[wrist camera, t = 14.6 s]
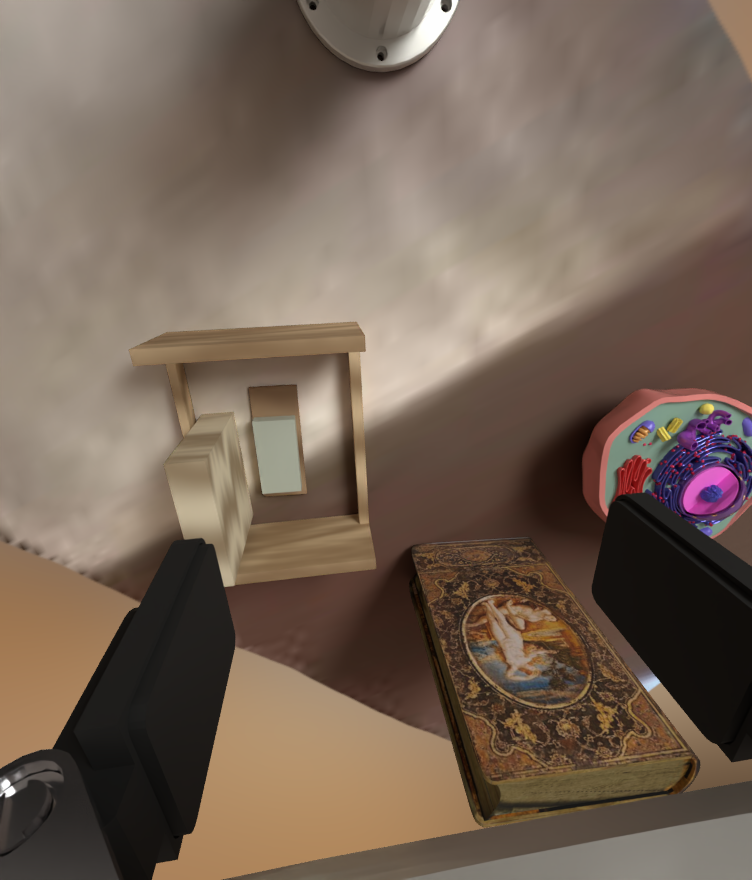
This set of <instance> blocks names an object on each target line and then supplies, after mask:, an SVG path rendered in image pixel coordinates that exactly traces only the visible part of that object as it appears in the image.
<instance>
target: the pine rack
mask: <svg viewBox="0 0 752 880" xmlns="http://www.w3.org/2000/svg"><path fill="white" fill-rule="evenodd" d="M365 351H366V349H365V335H364V333H363V332H362V330H361V328H360V327H359V325H358V323H357V322H345V323H327V324H309V325H291V326H273V327H255V328H237V329H219V330H201V331H183V332H166V333H164V334H162V335H160V336H158V337H155V338H153V339H151V340H149V341H147V342H145V343H142V344H140V345H138V346H136V347H134V348H131V349H129V352H130V356H131V359H132V363H133V366H143V365H159V364H166V368H167V373H168V377H169V381H170V385H171V389H172V393H173V397H174V401H175V405H176V410H177V414H178V418H179V422H180V426H181V430H182V434H183V438H184V437H185V436H186V435H187V433H188V432H189V431H190V430H191V428H192V427H193V426H194V424H195V423H196V419H195V414H194V410H193V406H192V401H191V397H190V392H189V388H188V383H187V379H186V375H185V370H184V366H183V363H190V362H206V361H222V360H238V359H254V358H270V357H286V356H302V355H318V354H333V353H348V363H349V378H350V394H351V409H352V424H353V440H354V455H355V471H356V486H357V501H358V514H353V515H344V516H334V517H324V518H314V519H304V520H294V521H284V522H274V523H264V524H255V525H250V529H249V532H248V536H247V540H246V544H245V547H244V551H243V555H242V559H241V562H240V566H239V570H238V574H237V578H236V581H235V585H239V584H248V583H257V582H265V581H274V580H283V579H292V578H300V577H309V576H318V575H326V574H335V573H344V572H353V571H361V570H370V569H376V559H375V553H374V548H373V542H372V537H371V532H370V526H369V515H368V497H367V478H366V459H365V441H364V422H363V403H362V385H361V366H360V352H365Z"/></svg>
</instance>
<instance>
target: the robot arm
mask: <svg viewBox="0 0 752 880" xmlns="http://www.w3.org/2000/svg"><path fill="white" fill-rule="evenodd" d="M459 1H460V0H297V2H298V4H299V7H300V9H301V12H302V14H303V15H304V17H305V19H306V21H307V22H308V24H309V26H310V28H311V30H312V31H313V32H314V33H315V35H316V36H317V37H318V38H319V40H320V41H321V42H322V43H323V45H324V46H325V47H326V48H328V49H329V50H330V51H331V52H332V53H333V54H334V55H336V56H337V57H338V58H339V59H341V60H343V61H345V62H346V63H348V64H350V65H352V66H353V67H357V68H360V69H363V70H366V71H372V72H389V71H394V70H400V69H402V68H404V67H406V66H409V65H411V64H413V63H415V62H416V61H418V60H419V59H420V58H422V57H423V56H424V55H426V54H427V53H428V52H429V51H430V50H431V49H432V48H433V47H434V45H435V44H436V43H437V42H438V41H439V40H440V38H441V37H442V35H443V33H444V32H445V30H446V29H447V27H448V25H449V24H450V22H451V20H452V18H453V16H454V14H455V12H456V9H457V7H458V4H459ZM311 5H315V7H316V10H311V9H309V7H310V6H311ZM442 7H443V8H445V9H446V13H445V12H443V11H442V9H441V8H442ZM378 55H382V56H383V59H384V60H383V61H380V60H378V58H377V56H378ZM592 594H593V597H594V600H595V601H596V603H597V604H598V605H599V607H600V608H601V609H602V610H603V612H604V613H605V614H606V615H607V617H608V618H609V619H610V620H611V622H612V623H613V624H614V625H615V626H616V628H617V629H618V630H619V631H620V633H621V634H622V635H623V636H624V638H625V639H626V640H627V641H628V642H629V644H630V645H631V646H632V647H633V649H634V650H635V651H636V652H637V654H638V655H639V656H640V657H641V659H642V660H643V661H644V662H645V663H646V665H647V666H648V667H649V668H650V670H651V671H652V672H653V673H654V675H655V676H656V677H657V678H658V680H659V681H660V682H661V683H662V684H663V686H664V687H665V688H666V689H667V691H668V692H669V693H670V694H671V696H672V697H673V698H674V699H675V700H676V702H677V703H678V704H679V705H680V707H681V708H682V709H683V710H684V712H685V713H686V714H687V715H688V717H689V718H690V719H691V720H692V721H693V723H694V724H695V725H696V726H697V728H698V729H699V730H700V731H701V733H702V734H703V735H704V736H705V737H706V738H707V739H708V740H709V741H711V742H712V743H715V744H717V745H718V746H719V747H720V749H721V750H722V751H723V752H724V753H725V755H726V756H727V757H728V758H729V759H730V761H731V762H736V761H742V760H748V759H752V567H751V566H750V565H748V564H747V563H746V562H744V561H743V560H741V559H740V558H739V557H737V556H736V555H734V554H733V553H731V552H730V551H729V550H727V549H726V548H724V547H723V546H722V545H720V544H719V543H717V542H716V541H715V540H713V539H712V538H710V537H709V536H707V535H706V534H705V533H703V532H702V531H700V530H699V529H698V528H696V527H695V526H693V525H692V524H690V523H689V522H688V521H686V520H685V519H683V518H682V517H681V516H679V515H678V514H676V513H675V512H673V511H672V510H671V509H669V508H668V507H666V506H665V505H664V504H662V503H661V502H659V501H658V500H656V499H655V498H654V497H652V496H651V495H649V494H647V493H642V492H641V493H632V494H622V495H619V496H618V497H617V498H616V499H615V501H614V502H612V503H611V504H610V507H609V511H608V515H607V520H606V524H605V529H604V533H603V538H602V543H601V547H600V552H599V556H598V561H597V565H596V570H595V574H594V579H593V583H592ZM234 650H235V631H234V626H233V622H232V618H231V614H230V610H229V605H228V601H227V597H226V593H225V589H224V584H223V580H222V576H221V572H220V568H219V564H218V559H217V555H216V551H215V547H214V545H213V544H206V542H205V540H204V539H203V538H195V539H185V540H176V541H174V542H173V543H172V545H171V547H170V549H169V551H168V552H167V554H166V556H165V558H164V560H163V562H162V564H161V566H160V568H159V570H158V571H157V573H156V575H155V577H154V579H153V581H152V583H151V585H150V587H149V588H148V590H147V592H146V594H145V596H144V598H143V600H142V602H141V604H140V606H139V607H138V608H134V609H132V610H131V611H129V612H128V614H127V615H126V617H125V618H124V620H123V622H122V624H121V625H120V627H119V629H118V631H117V632H116V634H115V636H114V638H113V640H112V641H111V644H110V646H109V647H108V649H107V651H106V652H105V655H104V656H103V658H102V660H101V661H100V663H99V665H98V667H97V669H96V671H95V672H94V674H93V676H92V678H91V680H90V681H89V683H88V685H87V687H86V689H85V690H84V692H83V694H82V696H81V698H80V700H79V701H78V703H77V705H76V707H75V709H74V710H73V712H72V714H71V716H70V718H69V720H68V721H67V723H66V725H65V727H64V729H63V730H62V732H61V734H60V736H59V738H58V740H57V741H56V743H55V745H54V747H53V749H48V750H47V749H46V750H39V751H36V752H34V753H30V754H27V755H24V756H22V757H20V758H18V759H16V760H15V761H13V762H11V763H9V764H8V765H6V766H4V767H2V768H1V769H0V880H152V876H153V873H154V869H155V866H156V863H160V862H166V861H172V860H177V859H178V855H179V851H180V848H181V843H182V839H183V835H186V834H190V833H192V831H193V830H194V827H195V824H196V820H197V817H198V812H199V808H200V803H201V799H202V794H203V790H204V784H205V781H206V776H207V771H208V767H209V762H210V758H211V753H212V749H213V744H214V740H215V735H216V731H217V726H218V722H219V717H220V713H221V708H222V704H223V699H224V695H225V690H226V686H227V681H228V677H229V672H230V668H231V663H232V659H233V654H234ZM223 880H752V781H747V782H742V783H736V784H730V785H724V786H719V787H714V788H707V789H701V790H696V791H690V792H684V793H678V794H673V795H667V796H661V797H656V798H650V799H645V800H639V801H634V802H628V803H622V804H617V805H611V806H606V807H600V808H595V809H589V810H584V811H578V812H572V813H567V814H561V815H556V816H550V817H545V818H539V819H534V820H528V821H523V822H517V823H512V824H506V825H501V826H495V827H490V828H484V829H479V830H474V831H469V832H463V833H458V834H452V835H447V836H442V837H436V838H431V839H426V840H420V841H415V842H410V843H404V844H400V845H394V846H388V847H384V848H378V849H372V850H367V851H362V852H356V853H351V854H346V855H340V856H335V857H330V858H325V859H319V860H314V861H310V862H305V863H300V864H295V865H290V866H286V867H281V868H276V869H271V870H267V871H262V872H257V873H252V874H248V875H242V876H238V877H234V878H228V879H223Z"/></svg>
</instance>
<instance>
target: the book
mask: <svg viewBox="0 0 752 880" xmlns="http://www.w3.org/2000/svg"><path fill="white" fill-rule="evenodd" d="M411 554H412V559H413V563H414V566H415V569H416V572H417V574H416V575H415V577H414V578H413V579H411V580H410V583H409V588H410V594H411V598H412V602H413V605H414V609H415V613H416V616H417V620H418V623H419V627H420V630H421V634H422V638H423V641H424V645H425V648H426V652H427V656H428V659H429V663H430V666H431V670H432V674H433V677H434V681H435V684H436V688H437V691H438V695H439V699H440V702H441V706H442V709H443V713H444V717H445V720H446V724H447V727H448V731H449V735H450V738H451V742H452V745H453V749H454V752H455V756H456V760H457V763H458V767H459V770H460V774H461V778H462V781H463V785H464V788H465V792H466V795H467V799H468V802H469V806H470V809H471V812H472V815H473V817H474V819H475V821H476V822H477V823H478V824H479V825H480V826H482V827H492V826H499V825H505V824H512V823H517V822H523V821H528V820H534V819H539V818H545V817H550V816H556V815H561V814H567V813H572V812H578V811H584V810H589V809H595V808H600V807H606V806H611V805H617V804H622V803H628V802H634V801H639V800H645V799H650V798H656V797H661V796H667V795H673V794H678V793H682V792H683V791H685V790H686V789H687V788H688V787H689V786H690V785H691V784H692V782H693V781H694V779H695V778H696V776H697V774H698V772H699V769H700V760H699V759H698V757H697V756H696V755H695V753H694V752H693V751H692V749H691V748H690V747H689V745H688V744H687V743H686V741H685V740H684V739H683V738H682V736H681V735H680V734H679V732H678V731H677V730H676V728H675V727H674V726H673V725H672V723H671V722H670V720H669V719H668V718H667V717H666V715H665V714H664V713H663V711H662V710H661V709H660V707H659V706H658V705H657V703H656V702H655V701H654V700H653V698H652V697H651V696H650V694H649V693H648V692H647V690H646V689H645V688H644V686H643V685H642V684H641V682H640V681H639V680H638V678H637V677H636V676H635V675H634V673H633V672H632V671H631V669H630V668H629V667H628V665H627V664H626V663H625V661H624V660H623V659H622V657H621V656H620V655H619V653H618V652H617V651H616V650H615V648H614V647H613V646H612V644H611V643H610V642H609V640H608V639H607V638H606V636H605V635H604V634H603V632H602V631H601V630H600V629H599V627H598V626H597V625H596V623H595V622H594V621H593V619H592V618H591V617H590V615H589V614H588V613H587V611H586V610H585V609H584V608H583V606H582V605H581V604H580V602H579V601H578V600H577V598H576V597H575V596H574V594H573V593H572V592H571V590H570V589H569V588H568V587H567V585H566V584H565V583H564V581H563V580H562V579H561V577H560V576H559V575H558V573H557V572H556V571H555V569H554V568H553V567H552V566H551V564H550V563H549V562H548V560H547V559H546V558H545V556H544V555H543V554H542V552H541V551H540V550H539V548H538V547H537V546H536V544H535V543H534V542H533V541H532V539H531V538H529V537H521V538H505V539H489V540H473V541H457V542H441V543H430V544H419V545H414V546H413V547H412V552H411Z"/></svg>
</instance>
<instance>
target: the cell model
mask: <svg viewBox="0 0 752 880" xmlns="http://www.w3.org/2000/svg"><path fill="white" fill-rule="evenodd" d="M582 477H583V486H582V490H583V495H584V498H585V500H586V502H587V503H588V505H589V506H590V508H591V509H592V510H593V511H594V512H595V513H596V514H597V515H598V516H599V517H600V518H601V519H602V520H603V521H604V522H605V523H606V520H607V515H608V511H609V507H610V504H611V503H612V502H614V501H615V499H616V498H617V497H618V496H619V495H622V494H632V493H641V492H642V493H647V494H649V495H651V496H652V497H654V498H655V499H656V500H658V501H659V502H661V503H662V504H664V505H665V506H666V507H668V508H669V509H671V510H672V511H673V512H675V513H676V514H678V515H679V516H681V517H682V518H683V519H685V520H686V521H688V522H689V523H690V524H692V525H693V526H695V527H696V528H698V529H699V530H700V531H702V532H703V533H705V534H706V535H707V536H709V537H710V538H712V539H714V538H715V537H717V536H719V535H720V534H721V533H723V532H724V531H725V530H726V529H727V528H729V527H730V526H731V525H732V524H733V523H734V522H735V521H736V520H737V519H738V518H739V517H740V516H741V515H742V514H743V513H744V512H745V511H746V509H747V508H748V507H749V506H750V505H751V504H752V408H751V407H749V406H747V405H745V404H743V403H741V402H739V401H737V400H735V399H732V398H729V397H727V396H724V395H722V394H719V393H716V392H713V391H709V390H704V389H697V388H680V389H664V390H651V389H639V390H636V391H634V392H632V393H631V394H630V395H628V396H627V397H626V398H625V399H624V400H623V401H622V402H620V403H619V404H618V405H617V406H616V407H615V408H613V409H612V410H611V411H610V412H609V413H608V414H606V415H605V416H604V417H603V418H602V419H601V420H600V421H599V422H598V423H597V424H596V426H595V427H594V429H593V431H592V434H591V436H590V439H589V441H588V443H587V446H586V448H585V450H584V453H583V456H582Z"/></svg>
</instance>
